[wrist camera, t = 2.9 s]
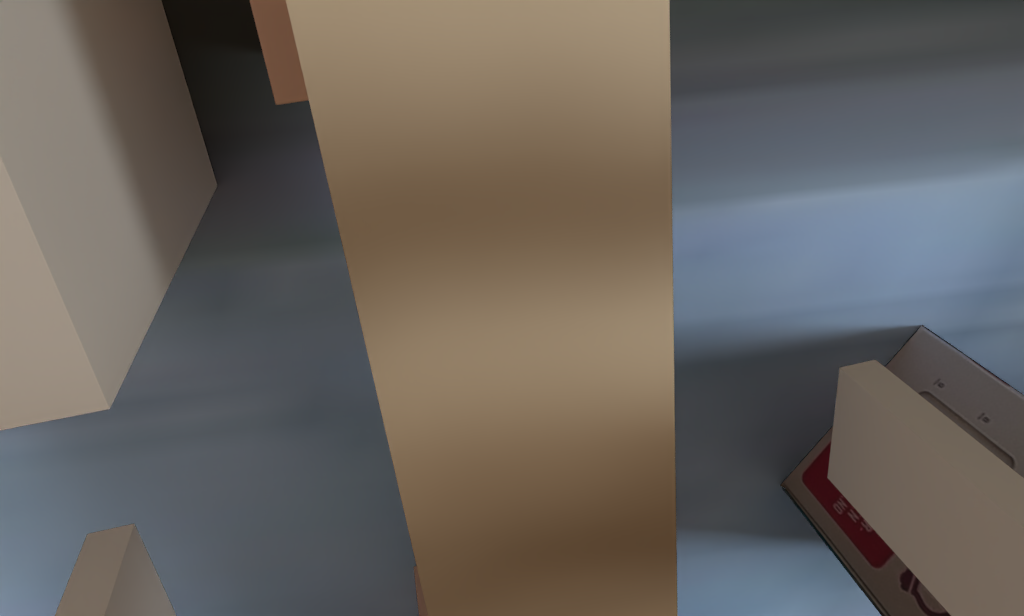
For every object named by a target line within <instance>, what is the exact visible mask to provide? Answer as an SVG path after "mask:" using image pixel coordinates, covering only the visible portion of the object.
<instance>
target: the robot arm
mask: <svg viewBox="0 0 1024 616" xmlns="http://www.w3.org/2000/svg"><path fill="white" fill-rule="evenodd" d="M827 478H828V479H829V480H830V481H831V482H832V483H833V485H834V486H835V487H836V488H837V489H838V490H839V491H840V492H841V493H842V495H843V496H844V497H845V498H846V499H847V500H848V501H849V502H850V504H851V505H852V506H853V507H854V508H855V509H856V510H857V511H858V512H859V514H860V515H861V516H862V517H863V518H864V519H865V520H866V521H867V522H868V524H869V525H870V526H871V527H872V528H873V529H874V530H875V531H876V533H877V534H878V535H879V536H880V537H881V538H882V539H883V540H884V541H885V543H886V544H887V545H888V546H889V547H890V548H891V549H892V550H893V552H894V553H895V554H896V555H897V556H898V557H899V558H900V559H901V560H902V562H903V563H904V564H905V565H906V566H907V567H908V568H909V569H910V570H911V572H912V573H913V574H914V575H915V576H916V577H917V578H918V579H919V581H920V582H921V583H922V584H923V585H924V586H925V587H926V588H927V589H928V591H929V592H930V593H931V594H932V595H933V596H934V597H935V598H936V600H937V601H938V602H939V603H940V604H941V605H942V606H943V607H944V608H945V610H946V611H947V612H948V613H949V614H950V615H951V616H1024V478H1023V477H1021V476H1020V475H1019V474H1018V473H1017V472H1015V471H1014V470H1013V469H1012V468H1010V467H1009V466H1008V465H1007V464H1005V463H1004V462H1003V461H1002V460H1000V459H999V458H998V457H997V456H995V455H994V454H993V453H992V452H990V451H989V450H988V449H987V448H985V447H984V446H983V445H982V444H980V443H979V442H978V441H977V440H975V439H974V438H973V437H972V436H970V435H969V434H968V433H967V432H965V431H964V430H963V429H962V428H960V427H959V426H958V425H957V424H955V423H954V422H953V421H952V420H950V419H949V418H948V417H947V416H945V415H944V414H943V413H942V412H940V411H939V410H938V409H937V408H935V407H934V406H933V405H932V404H930V403H929V402H928V401H927V400H925V399H924V398H923V397H922V396H920V395H919V394H918V393H917V392H915V391H914V390H913V389H912V388H910V387H909V386H908V385H907V384H905V383H904V382H903V381H902V380H900V379H899V378H898V377H897V376H895V375H894V374H893V373H892V372H890V371H889V370H888V369H887V368H885V367H884V366H883V365H882V364H880V363H879V362H878V361H877V360H871V361H866V362H862V363H857V364H853V365H848V366H844V367H839V376H838V385H837V395H836V404H835V413H834V422H833V431H832V440H831V449H830V458H829V468H828V477H827ZM55 616H176V614H175V611H174V609H173V607H172V605H171V603H170V600H169V598H168V596H167V594H166V592H165V589H164V587H163V585H162V583H161V581H160V578H159V576H158V574H157V572H156V570H155V568H154V565H153V563H152V561H151V559H150V557H149V554H148V552H147V550H146V548H145V546H144V543H143V541H142V539H141V537H140V535H139V532H138V530H137V528H136V526H135V524H130V525H125V526H121V527H116V528H112V529H107V530H103V531H98V532H94V533H89V534H87V536H86V539H85V541H84V544H83V546H82V549H81V551H80V554H79V556H78V559H77V561H76V564H75V566H74V569H73V571H72V574H71V576H70V579H69V581H68V584H67V586H66V589H65V591H64V594H63V596H62V599H61V601H60V604H59V606H58V609H57V612H56V614H55Z"/></svg>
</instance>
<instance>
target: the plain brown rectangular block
mask: <svg viewBox="0 0 1024 616" xmlns="http://www.w3.org/2000/svg"><path fill="white" fill-rule="evenodd" d="M250 4H251V8H252V12H253V16H254V20H255V24H256V28H257V32H258V36H259V40H260V43H261V47H262V51H263V55H264V59H265V63H266V67H267V71H268V75H269V79H270V83H271V87H272V91H273V95H274V99H275V103H276V105H280V104H287V103H293V102H300V101H306V100H309V99H308V94H307V90H306V86H305V81H304V77H303V73H302V68H301V64H300V60H299V55H298V51H297V47H296V42H295V38H294V34H293V29H292V25H291V21H290V17H289V12H288V8H287V4H286V0H250ZM414 575H415V584H416V593H417V602H418V612H419V616H428V613H427V608H426V604H425V600H424V595H423V591H422V587H421V582H420V578H419V574H418V570H417V566H414Z"/></svg>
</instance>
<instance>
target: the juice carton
mask: <svg viewBox="0 0 1024 616" xmlns="http://www.w3.org/2000/svg"><path fill="white" fill-rule="evenodd" d="M885 368H887V369H888V370H889V371H890V372H892V373H893V374H894V375H895V376H897V377H898V378H899V379H900V380H902V381H903V382H904V383H905V384H907V385H908V386H909V387H910V388H912V389H913V390H914V391H915V392H917V393H918V394H919V395H920V396H922V397H923V398H924V399H925V400H927V401H928V402H929V403H930V404H932V405H933V406H934V407H935V408H937V409H938V410H939V411H940V412H942V413H943V414H944V415H945V416H947V417H948V418H949V419H950V420H952V421H953V422H954V423H955V424H957V425H958V426H959V427H960V428H962V429H963V430H964V431H965V432H967V433H968V434H969V435H970V436H972V437H973V438H974V439H975V440H977V441H978V442H979V443H980V444H982V445H983V446H984V447H985V448H987V449H988V450H989V451H990V452H992V453H993V454H994V455H995V456H997V457H998V458H999V459H1000V460H1002V461H1003V462H1004V463H1005V464H1007V465H1008V466H1009V467H1010V468H1012V469H1013V470H1014V471H1015V472H1017V473H1018V474H1019V475H1020V476H1021V477H1023V478H1024V395H1023V394H1022V393H1020V392H1019V391H1017V390H1016V389H1014V388H1013V387H1011V386H1010V385H1009V384H1007V383H1006V382H1004V381H1003V380H1001V379H1000V378H998V377H997V376H995V375H994V374H993V373H991V372H990V371H988V370H987V369H985V368H984V367H982V366H981V365H980V364H978V363H977V362H975V361H974V360H972V359H971V358H969V357H968V356H966V355H965V354H964V353H962V352H961V351H959V350H958V349H956V348H955V347H953V346H952V345H950V344H949V343H948V342H946V341H945V340H943V339H942V338H940V337H939V336H937V335H936V334H935V333H933V332H932V331H930V330H929V329H927V328H926V327H924V326H923V325H922V326H921V327H920V328H919V329H918V330H917V332H916V333H915V334H914V335H913V336H912V337H911V338H910V339H909V341H908V342H907V343H906V344H905V345H904V346H903V347H902V349H901V350H900V351H899V352H898V353H897V354H896V355H895V356H894V358H893V359H892V360H891V361H890V362H889V363H888V364H887V365H886V367H885ZM832 431H833V426H832V428H831V429H830V430H829V431H828V432H827V433H826V434H825V435H824V437H823V438H822V439H821V440H820V441H819V442H818V443H817V445H816V446H815V447H814V448H813V449H812V450H811V451H810V452H809V454H808V455H807V456H806V457H805V458H804V459H803V460H802V461H801V463H800V464H799V465H798V466H797V467H796V468H795V469H794V470H793V472H792V473H791V474H790V475H789V476H788V477H787V478H786V480H785V481H784V482H783V483H782V484H781V485H780V486H782V488H783V487H784V488H783V490H784V491H785V492H786V494H787V495H788V496H789V497H790V499H791V500H792V501H793V503H794V504H795V505H796V506H797V508H798V509H799V510H800V512H801V513H802V514H803V515H804V517H805V518H806V519H807V521H808V522H809V523H810V524H811V526H812V527H813V528H814V529H815V531H816V532H817V533H818V535H819V536H820V537H821V538H822V540H823V541H824V542H825V544H826V545H827V546H828V547H829V549H830V550H831V551H832V553H833V554H834V555H835V556H836V558H837V559H838V560H839V562H840V563H841V564H842V565H843V567H844V568H845V569H846V571H847V572H848V573H849V574H850V576H851V577H852V578H853V579H854V581H855V582H856V583H857V585H858V586H859V587H860V588H861V590H862V591H863V592H864V594H865V595H866V596H867V597H868V599H869V600H870V601H871V603H872V604H873V605H874V606H875V608H876V609H877V610H878V612H879V613H880V614H881V615H882V616H951V615H950V614H949V613H948V612H947V611H946V610H945V608H944V607H943V606H942V605H941V604H940V603H939V602H938V601H937V600H936V598H935V597H934V596H933V595H932V594H931V593H930V592H929V591H928V589H927V588H926V587H925V586H924V585H923V584H922V583H921V582H920V581H919V579H918V578H917V577H916V576H915V575H914V574H913V573H912V572H911V570H910V569H909V568H908V567H907V566H906V565H905V564H904V563H903V562H902V560H901V559H900V558H899V557H898V556H897V555H896V554H895V553H894V552H893V550H892V549H891V548H890V547H889V546H888V545H887V544H886V543H885V541H884V540H883V539H882V538H881V537H880V536H879V535H878V534H877V533H876V531H875V530H874V529H873V528H872V527H871V526H870V525H869V524H868V522H867V521H866V520H865V519H864V518H863V517H862V516H861V515H860V514H859V512H858V511H857V510H856V509H855V508H854V507H853V506H852V505H851V504H850V502H849V501H848V500H847V499H846V498H845V497H844V496H843V495H842V493H841V492H840V491H839V490H838V489H837V488H836V487H835V486H834V485H833V483H832V482H831V481H830V480H829V479H828V478H827V477H828V468H829V458H830V449H831V440H832ZM785 488H786V489H785Z"/></svg>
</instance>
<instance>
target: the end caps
mask: <svg viewBox="0 0 1024 616" xmlns="http://www.w3.org/2000/svg"><path fill="white" fill-rule="evenodd" d="M216 188H217V183H216V179H215V176H214V173H213V170H212V166H211V163H210V160H209V156H208V153H207V150H206V146H205V143H204V140H203V136H202V133H201V130H200V127H199V123H198V120H197V117H196V113H195V110H194V107H193V103H192V100H191V97H190V93H189V90H188V87H187V84H186V80H185V77H184V74H183V70H182V67H181V64H180V60H179V57H178V54H177V50H176V47H175V44H174V41H173V37H172V34H171V31H170V27H169V24H168V21H167V17H166V14H165V11H164V7H163V4H162V1H161V0H0V430H5V429H10V428H15V427H21V426H26V425H31V424H36V423H41V422H46V421H51V420H57V419H62V418H67V417H72V416H77V415H82V414H87V413H93V412H98V411H103V410H108V409H110V408H111V406H112V404H113V402H114V400H115V398H116V395H117V393H118V391H119V389H120V387H121V385H122V383H123V381H124V379H125V377H126V375H127V373H128V371H129V368H130V366H131V364H132V362H133V360H134V358H135V356H136V354H137V352H138V350H139V348H140V346H141V344H142V341H143V339H144V337H145V335H146V333H147V331H148V329H149V327H150V325H151V323H152V321H153V319H154V317H155V315H156V312H157V310H158V308H159V306H160V304H161V302H162V300H163V298H164V296H165V294H166V292H167V290H168V288H169V285H170V283H171V281H172V279H173V277H174V275H175V273H176V271H177V269H178V267H179V265H180V263H181V261H182V258H183V256H184V254H185V252H186V250H187V248H188V246H189V244H190V242H191V240H192V238H193V236H194V234H195V231H196V229H197V227H198V225H199V223H200V221H201V219H202V217H203V215H204V213H205V211H206V209H207V207H208V204H209V202H210V200H211V198H212V196H213V194H214V192H215V190H216Z"/></svg>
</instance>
